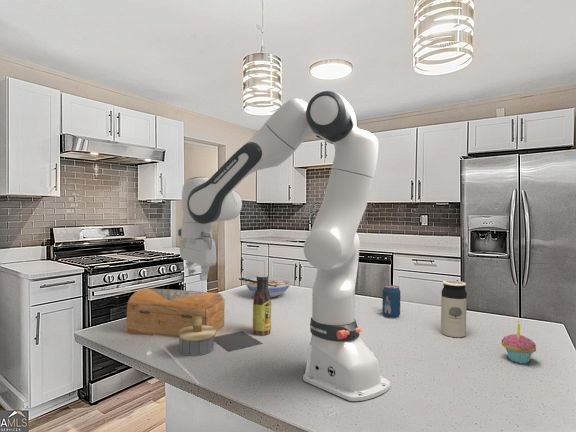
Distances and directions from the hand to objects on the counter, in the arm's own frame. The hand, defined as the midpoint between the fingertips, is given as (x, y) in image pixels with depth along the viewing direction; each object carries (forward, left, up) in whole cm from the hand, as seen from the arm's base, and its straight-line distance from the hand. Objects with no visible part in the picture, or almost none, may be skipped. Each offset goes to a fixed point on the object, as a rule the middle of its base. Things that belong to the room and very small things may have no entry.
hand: (197, 277), depth 112 cm
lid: (0, 0, -17) cm, 17 cm away
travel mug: (-35, -79, -22) cm, 89 cm away
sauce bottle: (+2, -24, -22) cm, 33 cm away
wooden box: (+22, -2, -23) cm, 32 cm away
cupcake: (-58, -74, -22) cm, 97 cm away
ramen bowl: (+46, -54, -22) cm, 74 cm away
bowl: (0, 0, -22) cm, 22 cm away
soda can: (-9, -78, -22) cm, 82 cm away
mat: (0, -13, -22) cm, 26 cm away
